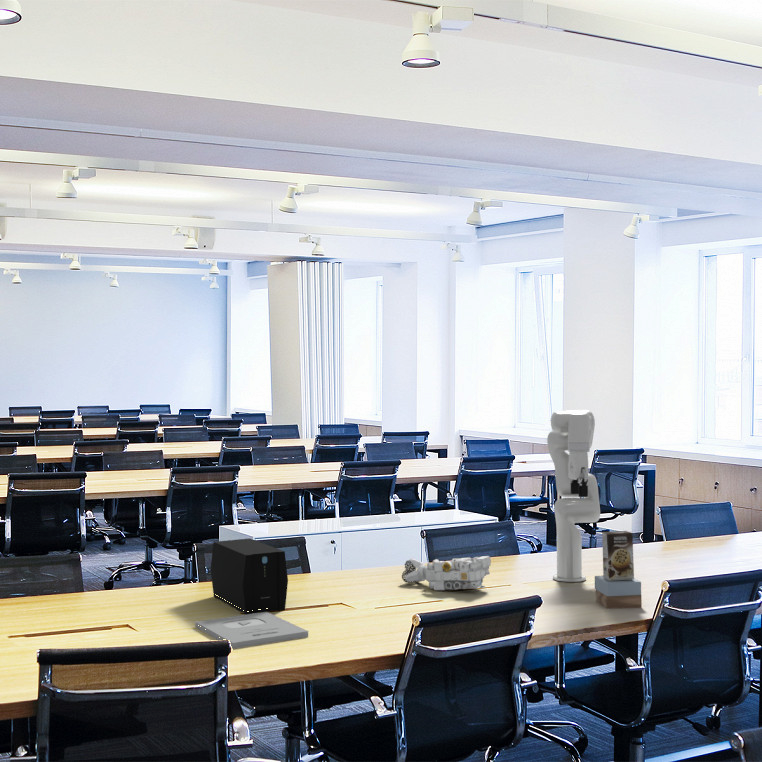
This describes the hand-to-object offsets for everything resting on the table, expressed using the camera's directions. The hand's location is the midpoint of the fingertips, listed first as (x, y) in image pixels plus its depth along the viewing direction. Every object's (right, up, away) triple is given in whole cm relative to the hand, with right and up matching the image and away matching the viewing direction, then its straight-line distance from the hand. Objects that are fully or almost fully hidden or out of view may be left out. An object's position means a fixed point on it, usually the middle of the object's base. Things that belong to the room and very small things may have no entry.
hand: (579, 495), depth 351 cm
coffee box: (+11, -28, -13) cm, 32 cm away
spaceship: (-47, -37, +16) cm, 62 cm away
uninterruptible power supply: (-118, -37, -7) cm, 124 cm away
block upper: (+11, -32, -12) cm, 36 cm away
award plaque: (-112, -38, -47) cm, 127 cm away
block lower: (+11, -37, -12) cm, 40 cm away
